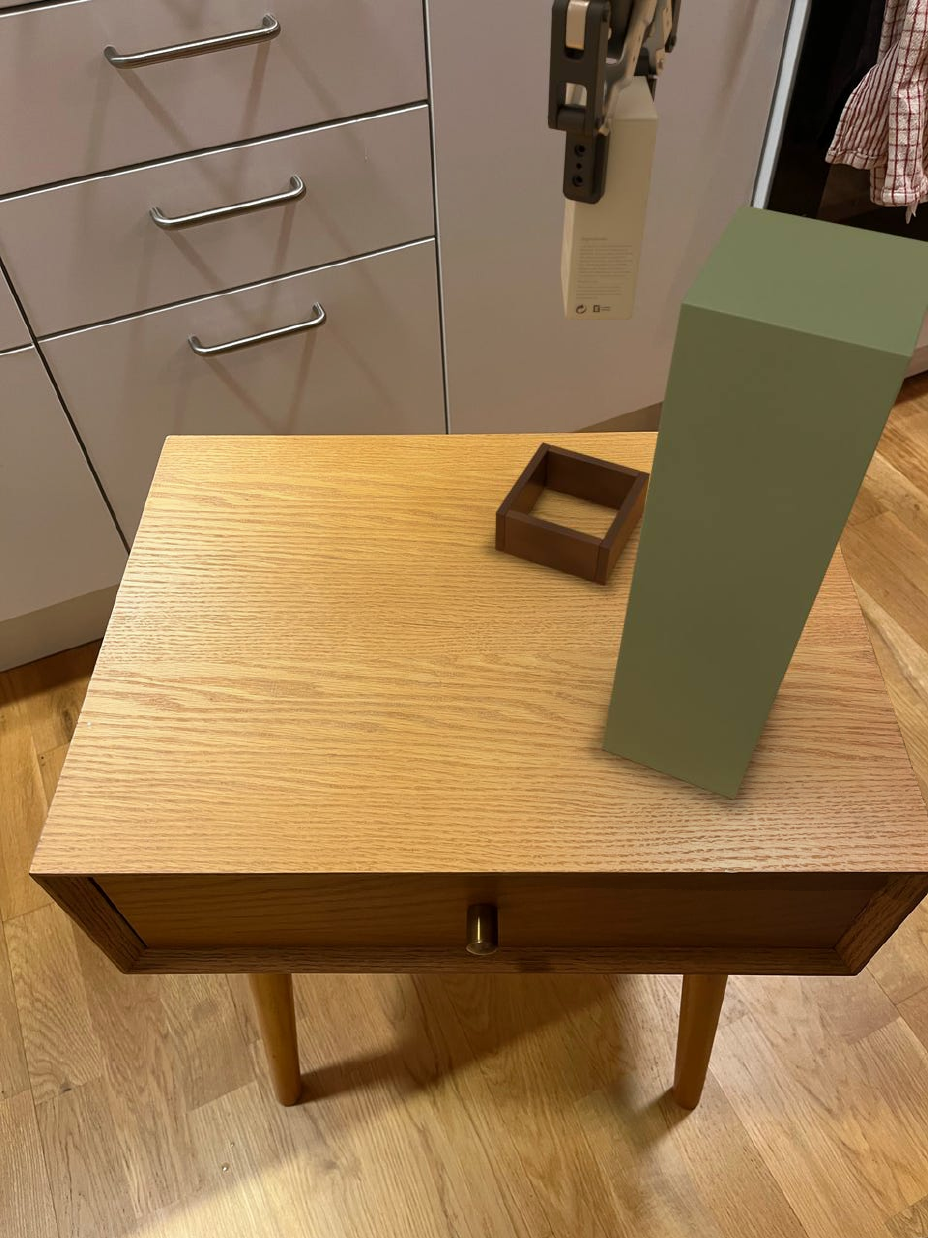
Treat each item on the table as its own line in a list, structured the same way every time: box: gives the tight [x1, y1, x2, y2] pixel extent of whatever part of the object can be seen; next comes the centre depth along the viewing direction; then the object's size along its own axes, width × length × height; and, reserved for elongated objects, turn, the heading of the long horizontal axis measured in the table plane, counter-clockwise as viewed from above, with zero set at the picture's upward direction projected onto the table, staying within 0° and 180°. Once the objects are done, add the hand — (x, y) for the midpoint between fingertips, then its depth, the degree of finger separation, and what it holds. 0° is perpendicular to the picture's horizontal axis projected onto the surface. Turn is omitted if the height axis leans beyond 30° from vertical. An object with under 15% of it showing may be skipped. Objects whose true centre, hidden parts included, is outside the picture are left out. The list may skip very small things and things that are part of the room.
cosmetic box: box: [560, 76, 659, 321], centre depth 57 cm, size 6×4×12 cm
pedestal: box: [601, 204, 928, 800], centre depth 52 cm, size 9×9×33 cm
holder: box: [494, 441, 651, 586], centre depth 76 cm, size 9×9×4 cm
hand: (607, 169), depth 55 cm, fingers closed on cosmetic box, 7 cm apart
